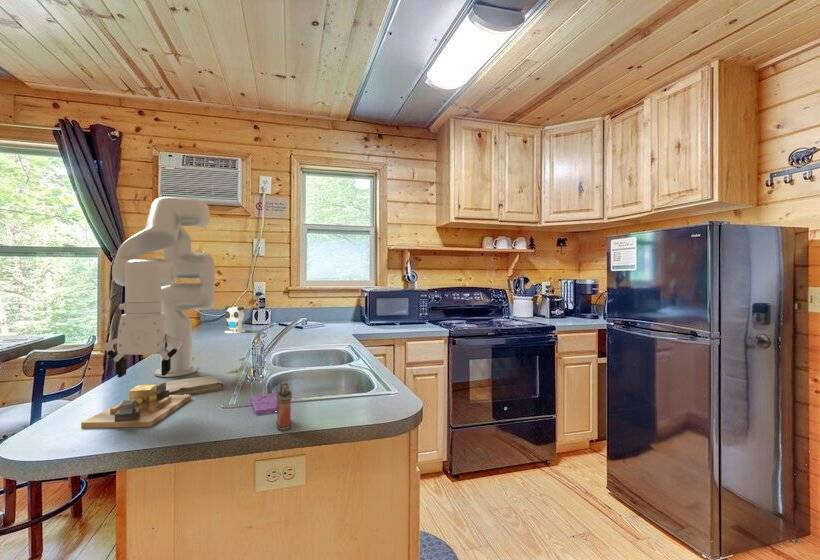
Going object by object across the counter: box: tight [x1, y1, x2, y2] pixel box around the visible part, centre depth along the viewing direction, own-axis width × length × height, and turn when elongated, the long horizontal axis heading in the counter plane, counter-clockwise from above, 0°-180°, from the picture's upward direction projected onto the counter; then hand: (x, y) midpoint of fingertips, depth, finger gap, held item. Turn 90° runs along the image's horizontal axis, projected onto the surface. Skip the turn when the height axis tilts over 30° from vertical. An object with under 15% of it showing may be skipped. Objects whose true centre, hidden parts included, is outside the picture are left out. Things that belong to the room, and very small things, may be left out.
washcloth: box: [165, 375, 225, 395], centre depth 120 cm, size 12×18×3 cm, turn 133°
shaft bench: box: [80, 381, 192, 429], centre depth 100 cm, size 20×15×5 cm
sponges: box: [249, 392, 277, 415], centre depth 107 cm, size 7×13×2 cm, turn 28°
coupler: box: [128, 383, 157, 410], centre depth 100 cm, size 9×4×5 cm, turn 15°
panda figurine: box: [224, 305, 246, 334], centre depth 234 cm, size 12×11×15 cm
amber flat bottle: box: [275, 381, 293, 433], centre depth 93 cm, size 8×3×10 cm, turn 21°
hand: (143, 375), depth 101 cm, fingers open, 9 cm apart
